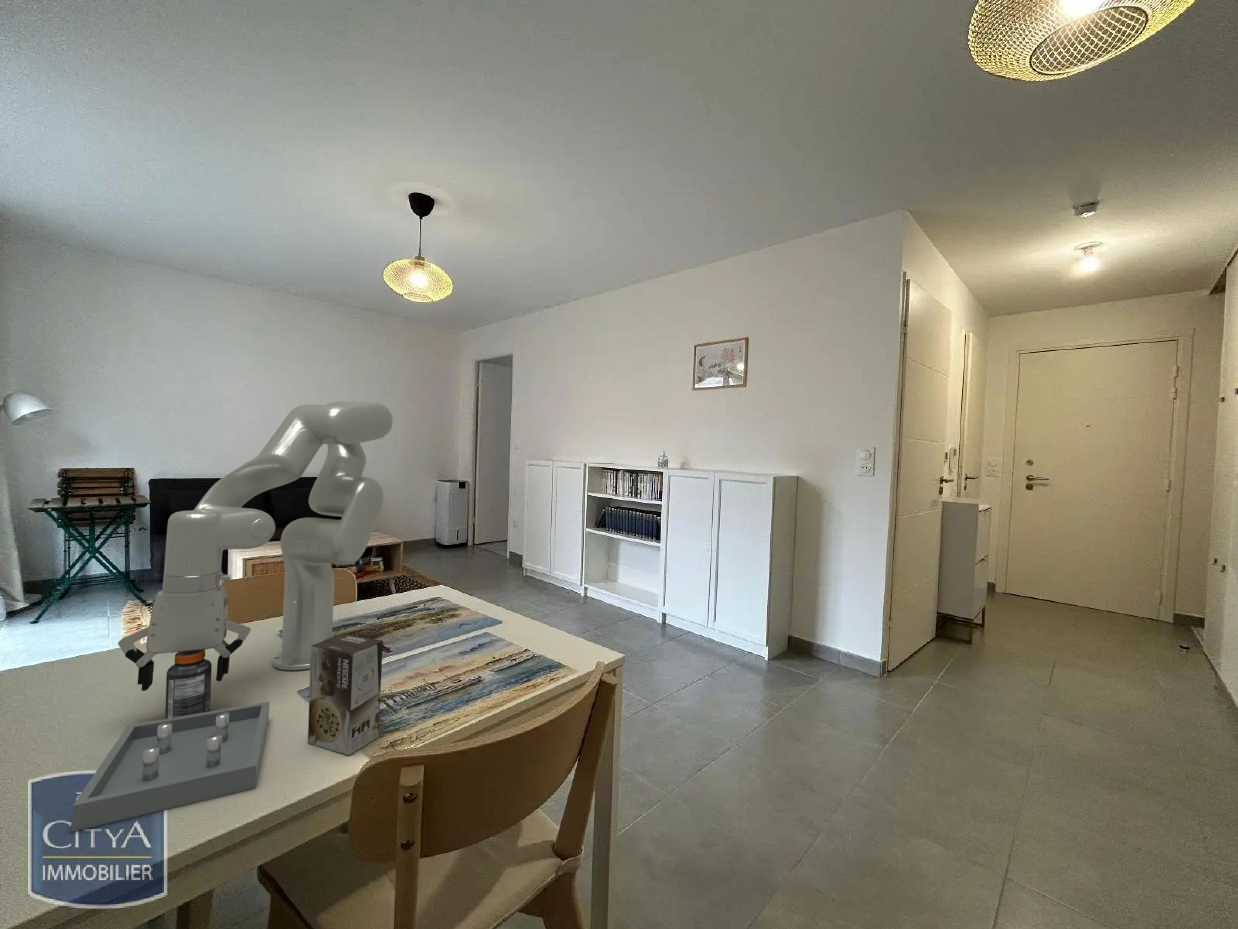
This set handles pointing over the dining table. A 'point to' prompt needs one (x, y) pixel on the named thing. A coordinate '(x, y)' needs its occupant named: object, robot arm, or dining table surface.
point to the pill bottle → (188, 684)
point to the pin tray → (175, 764)
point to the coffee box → (344, 692)
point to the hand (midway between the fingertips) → (184, 683)
